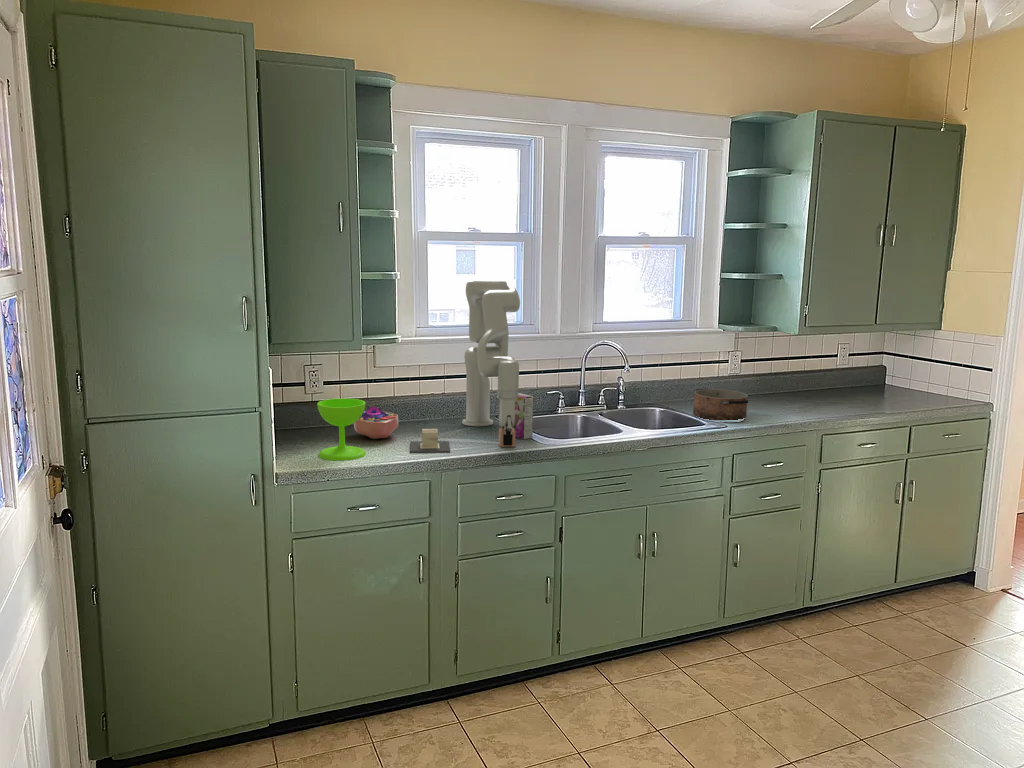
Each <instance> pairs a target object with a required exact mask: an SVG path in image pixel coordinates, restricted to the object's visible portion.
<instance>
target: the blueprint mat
mask: <svg viewBox="0 0 1024 768" xmlns="http://www.w3.org/2000/svg"><path fill="white" fill-rule="evenodd" d="M409 453H410V454H423V453H424V454H426V453H427V454H430V453H431V454H432V453H433V454H434V453H435V454H436V453H437V454H438V453H441V454H443V453H444V454H445V453H451V447H450V441H449V440H438V448H422V440H421V441H419V440H417V441H414V440H413V441H410V443H409Z"/></svg>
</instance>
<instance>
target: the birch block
mask: <svg viewBox="0 0 1024 768" xmlns="http://www.w3.org/2000/svg"><path fill="white" fill-rule="evenodd" d="M421 435H422V436H421V441H422V448H438V441H439V430H438V428H422V429H421Z"/></svg>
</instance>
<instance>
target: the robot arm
mask: <svg viewBox="0 0 1024 768" xmlns="http://www.w3.org/2000/svg"><path fill="white" fill-rule="evenodd" d="M465 296H466V300H467V303H468V308H469V313H468V314H469V315H468V316H469V317H468V318H469V319H468V320H469V322H468V337H469V340H470V341H471V343H473V344H478V345H477V346H471V347H469V348H467V349H466V350H465V351H464V366H465V373H466V375H465V376H466V393H465V394H466V398H465V399H466V400H465V401H466V403H465V404H466V405H465V406H466V407H465V413H466V414H465V418H464V419H462V422H461V423H462V424H463V425H465V426H468V427H476V428H477V427H487V426H492V425H493V424H494V420H493V419H491V418H490V407H491V406H490V405H491V402H490V401H491V400H490V399H491V398H490V397H491V392H490V391H491V381H490V378H497V399H499V403H498V405H499V407H498V423H499V425H500V428H504V434H503V445H512V427H513V426H514V421H515V400H516V399H518V393H519V386H520V384H519V379H520V363H519V362H518V361H517V360H515V358H514V357H512V356H509V324H508V318H507V313H516V312H518V311H519V310H520V308H521V298H520V295H519V293H518V291H517V289H516V287H515V286H514V284H513V283H512V282H511V280H510V279H508V278H501V277H500V278H499V277H497V278H493V277H476V278H472V279H469V280H468V281H467V282H466V284H465ZM487 344H495V345H494V346H493V345H490V346H488V345H487ZM506 428H507V429H506Z"/></svg>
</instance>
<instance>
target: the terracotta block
mask: <svg viewBox="0 0 1024 768" xmlns="http://www.w3.org/2000/svg"><path fill="white" fill-rule="evenodd" d="M506 429H507V428H506ZM503 434H504V428H502V427H498V445H499V447H501V448H503V447H504V448H505V447H507V448H508V447H510V448H511V447H515V448H516V437H515V430H514V428H512V445H503Z"/></svg>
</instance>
